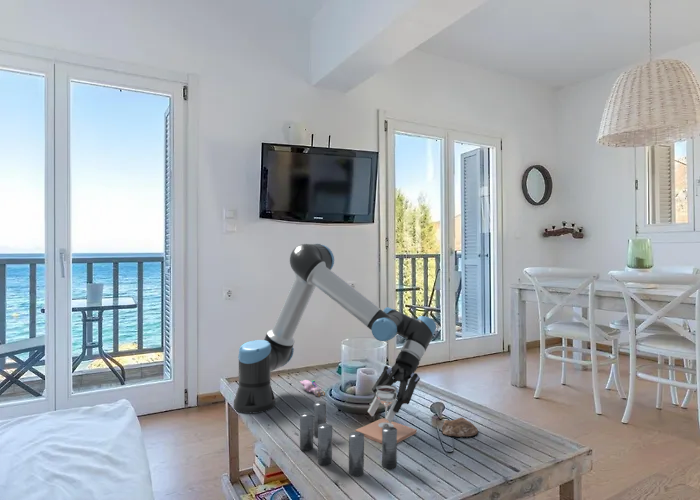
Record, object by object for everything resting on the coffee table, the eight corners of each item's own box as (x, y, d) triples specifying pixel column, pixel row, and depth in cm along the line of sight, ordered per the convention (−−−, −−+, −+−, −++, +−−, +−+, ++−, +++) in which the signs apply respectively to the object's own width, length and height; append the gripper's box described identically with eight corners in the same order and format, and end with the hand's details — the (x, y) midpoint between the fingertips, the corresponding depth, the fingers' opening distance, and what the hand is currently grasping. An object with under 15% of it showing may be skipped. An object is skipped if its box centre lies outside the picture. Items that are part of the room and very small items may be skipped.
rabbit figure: (327, 398, 178) (306, 383, 189) (329, 384, 177) (308, 370, 188) (315, 402, 174) (294, 386, 185) (316, 387, 173) (295, 373, 184)
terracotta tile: (355, 433, 142) (355, 429, 142) (382, 420, 152) (382, 417, 152) (389, 447, 132) (389, 443, 132) (416, 432, 142) (416, 429, 142)
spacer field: (283, 446, 132) (283, 412, 132) (320, 431, 143) (320, 400, 143) (363, 487, 110) (363, 447, 110) (399, 465, 121) (399, 429, 121)
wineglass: (383, 431, 137) (384, 393, 137) (371, 423, 143) (371, 387, 143) (400, 427, 141) (401, 389, 141) (388, 419, 147) (388, 383, 147)
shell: (479, 426, 149) (479, 416, 149) (477, 442, 137) (477, 431, 137) (444, 422, 152) (444, 411, 152) (439, 437, 140) (439, 426, 140)
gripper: (438, 368, 146) (409, 432, 135) (392, 357, 160) (361, 414, 148) (430, 355, 142) (398, 419, 131) (383, 345, 156) (350, 403, 144)
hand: (379, 417), depth 140 cm, fingers closed on wineglass, 7 cm apart
